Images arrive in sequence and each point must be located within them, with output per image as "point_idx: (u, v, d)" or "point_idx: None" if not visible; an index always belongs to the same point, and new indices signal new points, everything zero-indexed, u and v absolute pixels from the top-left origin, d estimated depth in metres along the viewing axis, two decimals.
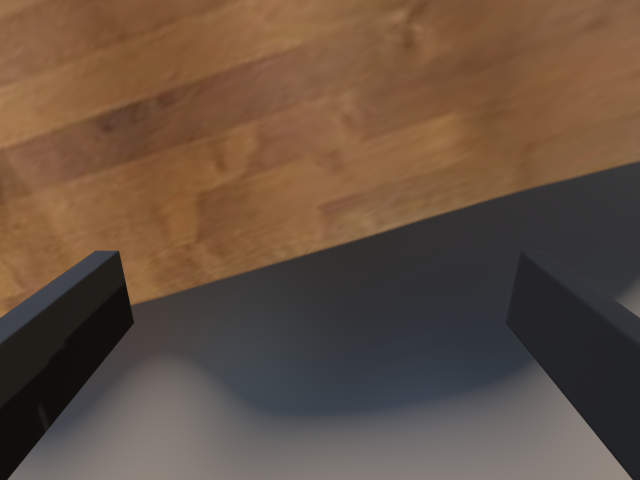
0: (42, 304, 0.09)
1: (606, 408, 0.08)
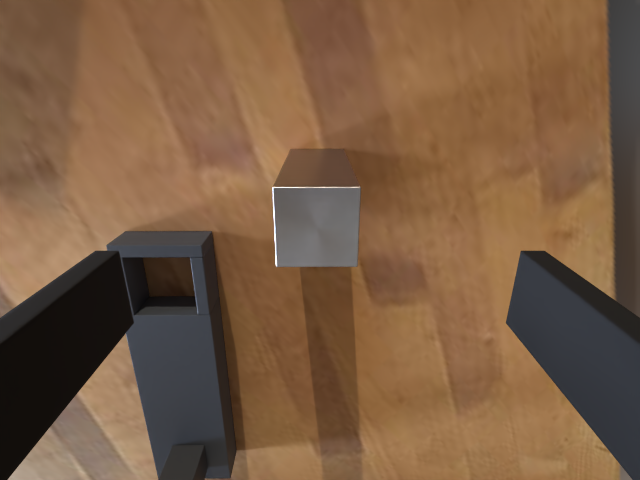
0: (42, 304, 0.09)
1: (606, 408, 0.08)
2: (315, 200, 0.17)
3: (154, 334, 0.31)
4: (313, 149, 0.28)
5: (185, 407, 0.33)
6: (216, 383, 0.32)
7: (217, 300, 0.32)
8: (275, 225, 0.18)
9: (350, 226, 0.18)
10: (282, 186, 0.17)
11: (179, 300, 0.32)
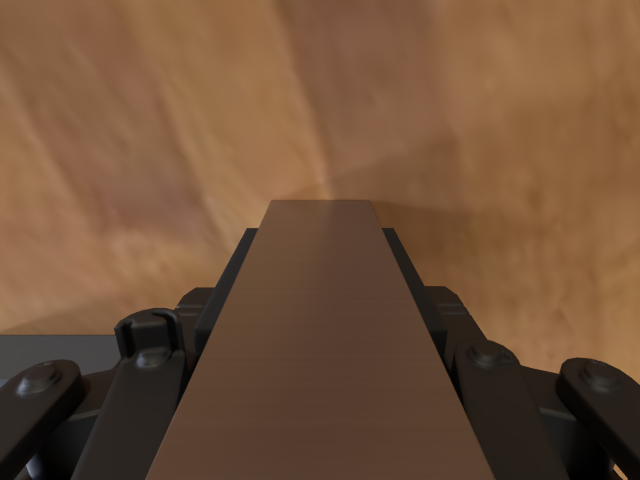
0: None
1: None
2: None
3: None
4: (313, 201, 0.15)
5: None
6: None
7: None
8: None
9: None
10: (183, 472, 0.04)
11: None
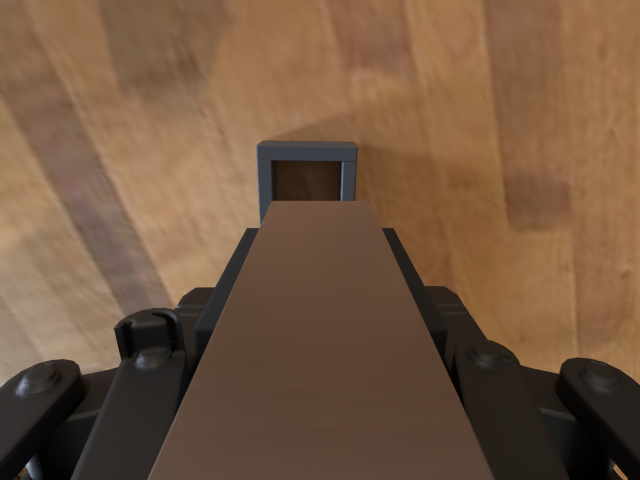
0: None
1: None
2: None
3: None
4: (313, 202, 0.15)
5: None
6: None
7: None
8: None
9: None
10: (185, 472, 0.04)
11: None
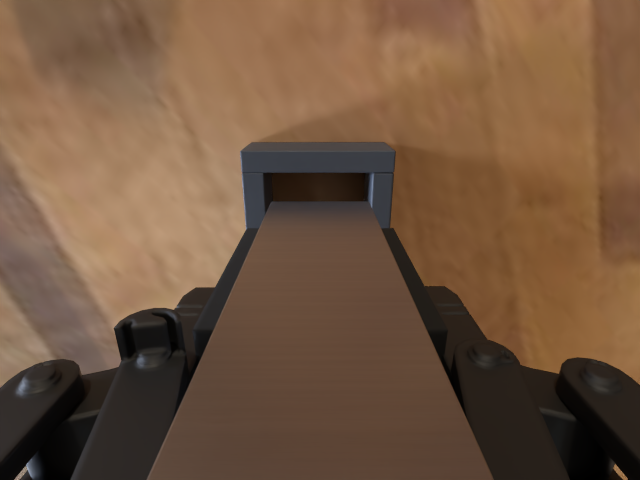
0: None
1: None
2: None
3: None
4: (313, 203, 0.15)
5: None
6: None
7: None
8: None
9: None
10: (183, 474, 0.04)
11: None
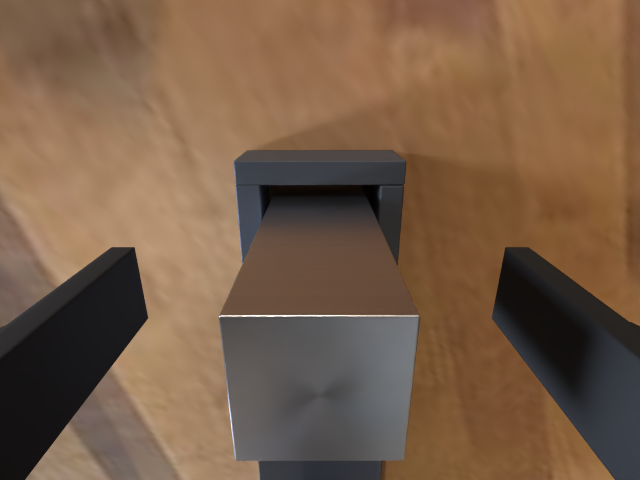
0: (65, 298, 0.09)
1: (582, 399, 0.09)
2: (317, 342, 0.08)
3: None
4: None
5: None
6: None
7: None
8: (229, 389, 0.08)
9: (393, 391, 0.08)
10: (241, 310, 0.08)
11: None
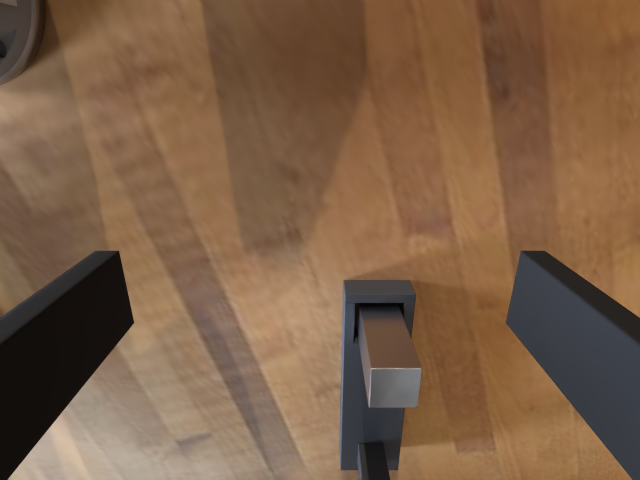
0: (42, 304, 0.09)
1: (607, 408, 0.08)
2: (395, 374, 0.30)
3: None
4: None
5: (375, 413, 0.43)
6: None
7: None
8: (370, 387, 0.30)
9: (414, 387, 0.30)
10: (376, 366, 0.30)
11: None
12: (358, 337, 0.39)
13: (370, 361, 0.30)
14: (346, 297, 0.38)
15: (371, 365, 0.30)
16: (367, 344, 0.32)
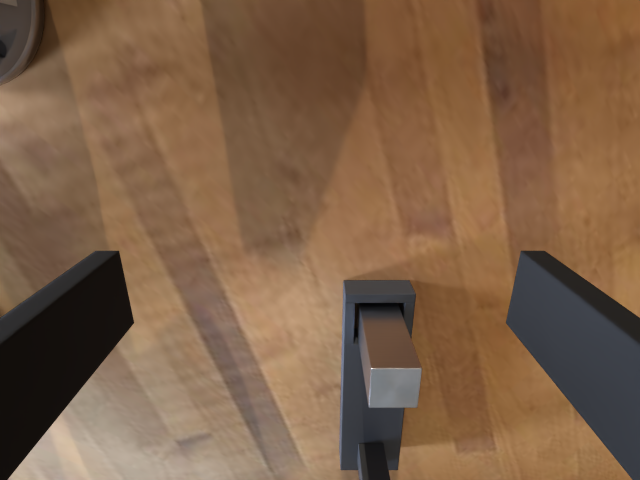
0: (42, 304, 0.09)
1: (607, 408, 0.08)
2: (395, 374, 0.30)
3: None
4: None
5: (375, 413, 0.43)
6: None
7: None
8: (370, 387, 0.30)
9: (414, 387, 0.30)
10: (376, 366, 0.30)
11: None
12: (358, 337, 0.39)
13: (370, 361, 0.30)
14: (346, 297, 0.38)
15: (371, 365, 0.30)
16: (367, 344, 0.32)
